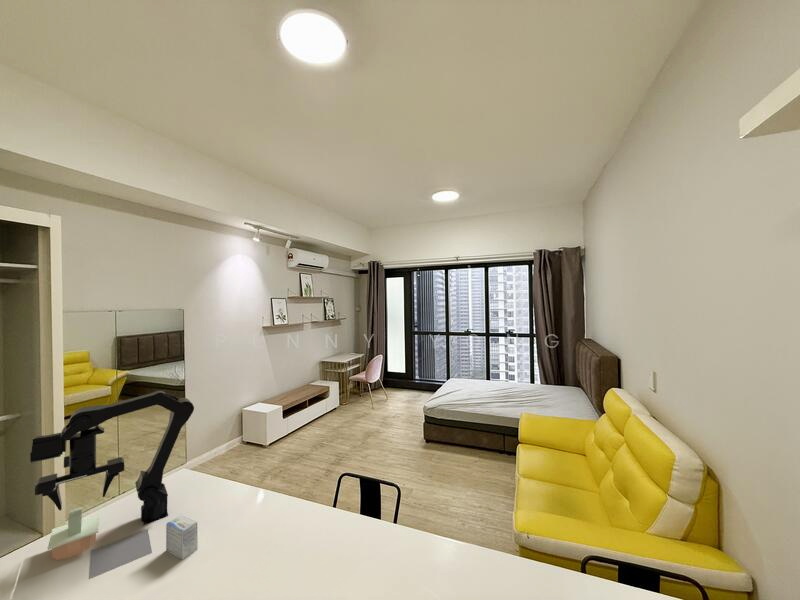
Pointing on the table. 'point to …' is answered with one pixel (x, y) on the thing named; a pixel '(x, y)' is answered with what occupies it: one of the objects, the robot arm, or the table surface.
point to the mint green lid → (74, 529)
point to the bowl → (73, 547)
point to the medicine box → (181, 536)
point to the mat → (119, 553)
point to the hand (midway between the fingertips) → (82, 502)
